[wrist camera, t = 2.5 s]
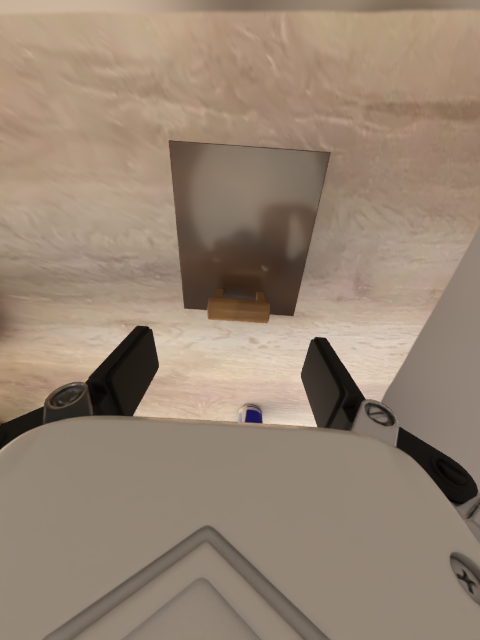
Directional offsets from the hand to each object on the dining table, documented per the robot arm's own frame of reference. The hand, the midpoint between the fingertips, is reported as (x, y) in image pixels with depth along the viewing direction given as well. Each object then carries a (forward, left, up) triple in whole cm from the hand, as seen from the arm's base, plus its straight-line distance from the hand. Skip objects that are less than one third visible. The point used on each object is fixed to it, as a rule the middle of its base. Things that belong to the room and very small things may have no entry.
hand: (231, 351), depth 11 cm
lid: (-3, -3, -10) cm, 11 cm away
